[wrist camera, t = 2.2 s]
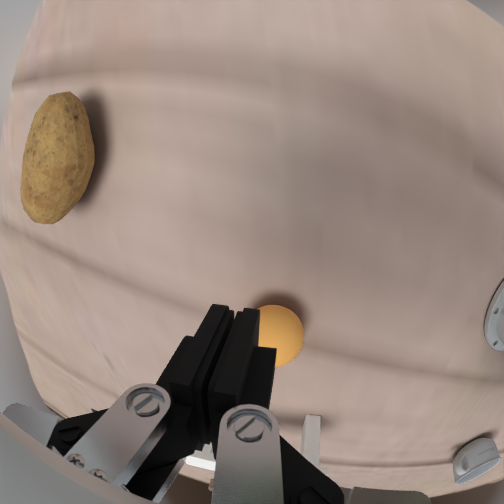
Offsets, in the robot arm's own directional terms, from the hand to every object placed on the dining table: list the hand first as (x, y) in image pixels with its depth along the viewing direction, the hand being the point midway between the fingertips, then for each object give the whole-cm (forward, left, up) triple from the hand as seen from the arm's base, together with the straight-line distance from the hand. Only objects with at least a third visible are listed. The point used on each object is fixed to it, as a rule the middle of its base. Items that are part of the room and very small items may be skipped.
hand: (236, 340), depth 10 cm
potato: (+23, -7, -17) cm, 29 cm away
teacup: (-44, +41, -17) cm, 62 cm away
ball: (0, +10, -14) cm, 16 cm away
